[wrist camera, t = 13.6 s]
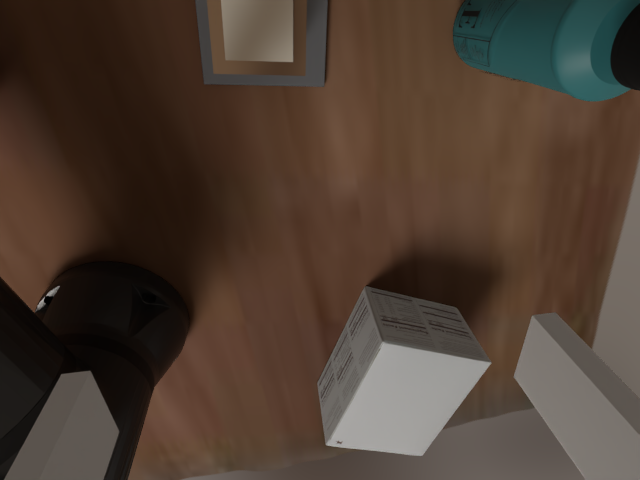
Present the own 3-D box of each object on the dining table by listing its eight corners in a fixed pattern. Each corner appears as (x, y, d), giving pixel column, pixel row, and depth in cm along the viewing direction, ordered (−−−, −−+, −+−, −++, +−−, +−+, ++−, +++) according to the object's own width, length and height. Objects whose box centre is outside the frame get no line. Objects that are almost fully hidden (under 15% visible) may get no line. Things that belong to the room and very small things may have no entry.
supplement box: (401, 394, 57) (423, 458, 49) (316, 381, 54) (323, 447, 46) (459, 306, 50) (496, 364, 42) (363, 284, 46) (383, 342, 38)
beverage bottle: (498, 74, 36) (709, 138, 18) (430, 58, 34) (589, 111, 17) (531, -10, 32) (824, -27, 15) (458, -31, 31) (687, -76, 14)
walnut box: (232, 51, 32) (213, 74, 21) (227, -23, 29) (203, -39, 19) (294, 53, 32) (305, 76, 22) (294, -20, 30) (307, -33, 19)
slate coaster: (205, 82, 33) (204, 84, 33) (189, -67, 28) (188, -68, 28) (323, 85, 34) (324, 86, 34) (328, -58, 29) (330, -59, 29)
